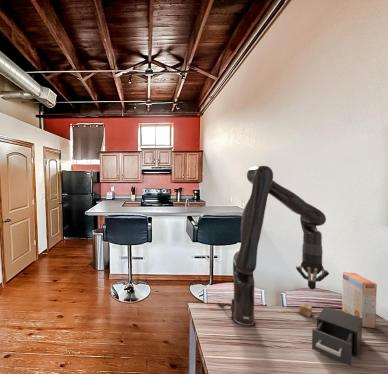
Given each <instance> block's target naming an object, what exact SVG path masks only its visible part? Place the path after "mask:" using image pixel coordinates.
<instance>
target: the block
mask: <svg viewBox="0 0 388 374" xmlns="http://www.w3.org/2000/svg"><path fill="white" fill-rule="evenodd" d="M299 314H300V315H302V316H305V317H307V318H311V316H312V315H313V306H312V305H309V304H307V303H303V302H301V304H300V305H299Z"/></svg>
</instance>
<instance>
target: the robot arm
mask: <svg viewBox="0 0 388 374" xmlns="http://www.w3.org/2000/svg"><path fill="white" fill-rule="evenodd" d="M246 179H247V181H248V182H249V183H250V184H252V186H251V193H250V196H249V199H248V200H247V202H246V204H245V206H244V208H243V211H242V215H241V220H240V245H239V246H240V247H239V250H238V251H236V252H235V254H234V255H233V258H232V278H233V297H232V299H231V303H224V304H222V303H220V302H218V304H217V305H218V306H220V307H222V308H223V307H230V311H231V319H232V320H233V321H234V322H236V323H237V324H238V325H242V326H246V327H247V326H248V327H250V326H253V325H254V324H255V287H256V286H255V285H256V283H255V277H254V272H255V270H256V268H257V261H258V248H259V243H260V239H261V235H262V230H263V226H264V220H265V213H266V208H267V203H268V197H269V195H270V196H272V197H273V198H274V199H276V200H277V201H278V202H280V204H282V205H283V206H285V207H286V208H287V209H288V210H289V211H291V212H292V213H294V214H296V215H299V220H300V225H301V230H302V235H303V236H302V245H301V246H302V253H301V254H302V255H301V263H300V264H299V265H296V266H295V270H296V271H297V272H298V273H299V274H300V276H301V277H302V278H303V279H304V280H307V287H308V288H309V290H316V287H317V285H316V284H317V282H321V281H322V280H324V279H325V278H327V277H328V276H329V275H330V272H329V271H328V270H326V269H325V268H324V265H323V253H324V252H323V234H322V232H321V231H320V230H319V229H318V228H317V227H320V226H323V225H325V223H326V222H327V216H326V214H325V213H324V212H323V211H321V210H320V209H318V208H317V207H316V206H313V205H312V204H310V203H308V202H307V201H305V200H304V199H303V198H302V197H300V196H299V195H297V194H296V193H295V192H293V191H291V190H290V189H288V188H286V187H284V186H282V185H281V184H279V183H278V182H276V181H275V180H274V172H273V169H272V168H271V167H270V166H267V165H256V166H253V167H251V168H249V169H248V171H247V172H246ZM320 273H321V274H320Z"/></svg>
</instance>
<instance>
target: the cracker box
mask: <svg viewBox="0 0 388 374" xmlns="http://www.w3.org/2000/svg"><path fill="white" fill-rule="evenodd" d="M377 285H378V284H377V283H375V282H373V281H372V280H369V279H368V278H366V277H364V276H362V275H360V274H358V273H356V272H346V271H345V272H342V296H341V297H342V300H341V311H342V312H345V313H348V314H351V315H354V316H357V317H360V318H362V328H368V329H376V323H377V322H376V321H377V290H378V289H377V287H378V286H377Z"/></svg>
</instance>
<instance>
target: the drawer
mask: <svg viewBox="0 0 388 374" xmlns="http://www.w3.org/2000/svg"><path fill="white" fill-rule="evenodd" d="M311 334H312V335H311V350H314V351H315V352H318V353H320V354H322V355H325V356H327V357H329V358H331V359H334V360H335V361H338V362H340V363H342V364H344V365H346V366H349V367H352V355H351V354H352V351H353V348H354V333H353V332H350V331H347V330H344V329H342V328H339V327H336V326H333V325H331V324H328V323H325V322H322V321H321V322H320V323H319V325H318V326H317V325H316V328H312V330H311Z"/></svg>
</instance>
